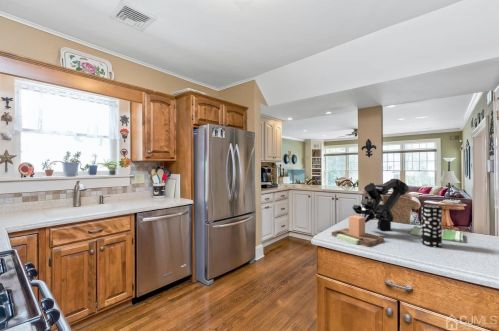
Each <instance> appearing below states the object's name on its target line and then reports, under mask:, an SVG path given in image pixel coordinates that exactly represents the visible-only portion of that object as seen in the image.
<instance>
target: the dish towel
mask: <svg viewBox="0 0 499 331" xmlns="http://www.w3.org/2000/svg"><path fill="white" fill-rule="evenodd" d="M409 233H410V235H411V236H416V237H421V227H419V226H417V225H414V226H413V228H412V229H411V231H410V232H409ZM442 241H448V242H456V243H457V242H458V243H464V241H465V240H464V232H462V231H458V230H448V229H442Z"/></svg>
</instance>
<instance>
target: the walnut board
mask: <svg viewBox="0 0 499 331" xmlns="http://www.w3.org/2000/svg"><path fill="white" fill-rule="evenodd" d="M338 234H342V235H345V236H349V237H352V238H355V239H359V240H358V244H357V245H360V246H364V247H367V248H368V247H371V246H374V245H377V244H380V243H383V242H384V237H383V236H379V235H376V234H372V233H368V232H365V235H363V236H360V237H358V236H354V235H351V234H349V227H345V228H342V229H341V228H340V229H339V230H334V231H331V236H333V237H334V238H335V237H336V238H337V235H338Z"/></svg>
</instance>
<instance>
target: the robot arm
mask: <svg viewBox="0 0 499 331" xmlns="http://www.w3.org/2000/svg"><path fill="white" fill-rule="evenodd" d="M363 189H364V191H365V193H366V194H367V196H368V197H369V198H361V201H360V204H361V205H362V206H363V207H362V206H361V205H359V204H358V205H357V204H353V206H352V210H353V211H354V213H356V214H357V215H361V214H362V217H365V224H366V223H368V222H369V221H371V220H374V219H376V220H377V227H376V229H378V230H380V231H383V232H390V231H391V232H392V231H393V229H392V222H393V221H394V219H395V218H394V215H393V214H392V209H393V208H394V206H395V204H396V203H397V202H398V200H399V199H400V197H401V196H403V195H406V193H408V191H409V185H407V183H406V182H404V181H402V180H400V179H399V178H390V180H387V181H386V182H384V183H382V184H375V183H373V182H370V183H368V184H367V185H365V186H364V187H363ZM391 189H392V192H391V193H390V195H389V196H388V198H387V199H386V200H385V202H384V203H383V204H381V202H383V201H384V199H383V196H386V195H388V193H389V190H391Z"/></svg>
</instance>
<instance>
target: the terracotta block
mask: <svg viewBox="0 0 499 331" xmlns="http://www.w3.org/2000/svg"><path fill="white" fill-rule="evenodd" d="M348 228H349V234H351V235H354V236H358V237H360V236H363V235H365V233H366V223H365V217H363V215H362V216H361V215H358V214H357V215H355V214H354V215H350V216H348Z"/></svg>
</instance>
